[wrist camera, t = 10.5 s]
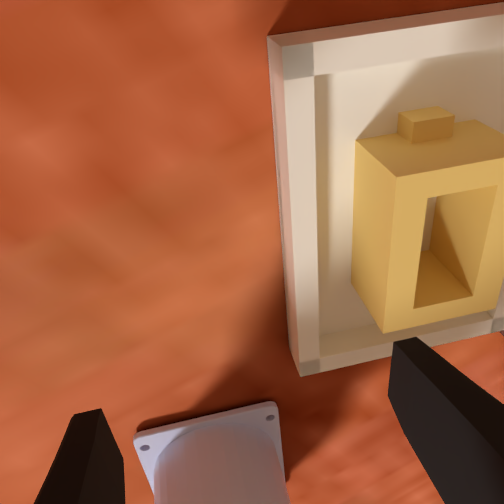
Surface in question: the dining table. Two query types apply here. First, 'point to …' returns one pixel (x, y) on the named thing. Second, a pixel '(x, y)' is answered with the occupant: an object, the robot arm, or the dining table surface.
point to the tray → (343, 158)
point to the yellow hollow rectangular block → (413, 217)
